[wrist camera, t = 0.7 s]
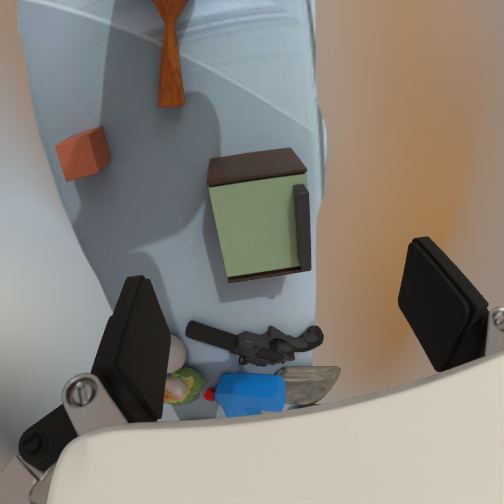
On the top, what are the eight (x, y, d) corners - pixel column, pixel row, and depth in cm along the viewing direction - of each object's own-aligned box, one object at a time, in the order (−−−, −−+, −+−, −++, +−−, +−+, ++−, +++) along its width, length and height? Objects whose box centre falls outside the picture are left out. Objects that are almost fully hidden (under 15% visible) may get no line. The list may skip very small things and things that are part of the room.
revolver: (328, 325, 59) (285, 368, 66) (213, 282, 51) (178, 337, 57) (332, 337, 57) (287, 380, 63) (213, 294, 48) (177, 349, 55)
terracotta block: (71, 136, 35) (54, 146, 31) (102, 126, 35) (88, 134, 31) (81, 169, 38) (66, 182, 34) (111, 160, 38) (98, 172, 34)
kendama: (138, 111, 31) (137, -48, 19) (157, 100, 36) (157, -38, 24) (188, 109, 31) (190, -57, 19) (202, 99, 36) (204, -45, 24)
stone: (319, 395, 74) (347, 360, 67) (322, 405, 71) (352, 371, 64) (254, 391, 70) (277, 354, 63) (255, 403, 67) (279, 366, 60)
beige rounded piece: (142, 333, 51) (129, 379, 54) (184, 366, 48) (166, 410, 51) (168, 322, 58) (153, 366, 61) (208, 351, 55) (188, 394, 58)
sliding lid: (208, 186, 33) (207, 197, 31) (305, 172, 33) (312, 181, 31) (226, 274, 40) (227, 289, 38) (309, 261, 40) (314, 276, 38)
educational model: (125, 356, 61) (171, 374, 71) (119, 392, 56) (168, 406, 67) (169, 353, 55) (216, 372, 66) (164, 395, 50) (214, 408, 61)
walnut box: (209, 158, 40) (206, 182, 32) (290, 147, 40) (306, 168, 32) (226, 246, 47) (228, 283, 40) (297, 235, 47) (310, 270, 40)
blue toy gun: (238, 443, 75) (245, 425, 80) (308, 451, 66) (313, 431, 71) (187, 389, 62) (198, 367, 67) (273, 398, 53) (282, 372, 58)
